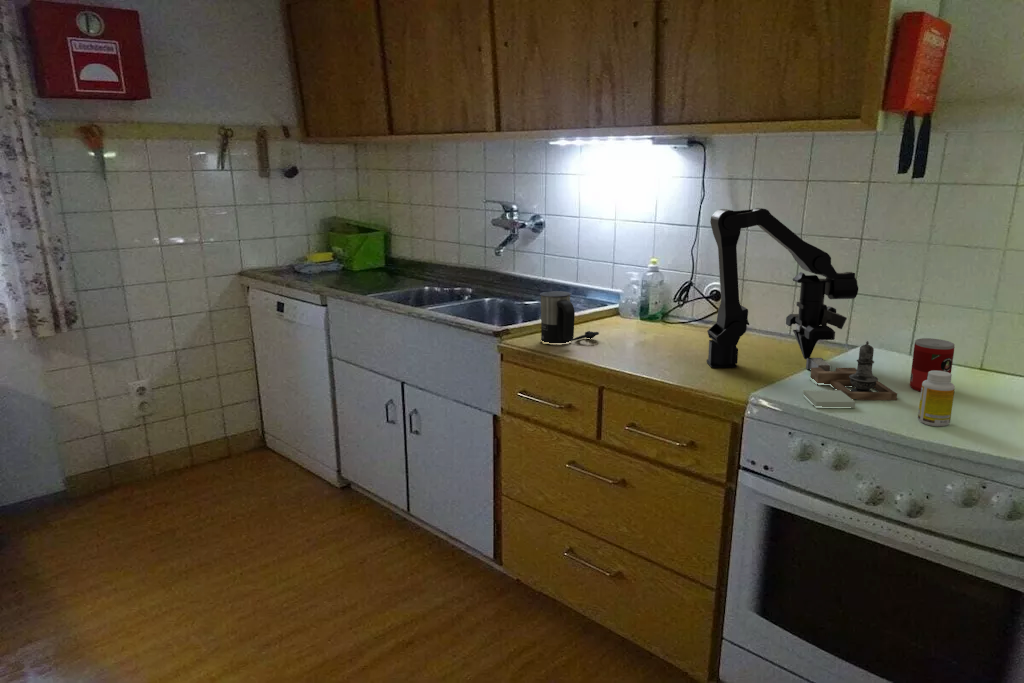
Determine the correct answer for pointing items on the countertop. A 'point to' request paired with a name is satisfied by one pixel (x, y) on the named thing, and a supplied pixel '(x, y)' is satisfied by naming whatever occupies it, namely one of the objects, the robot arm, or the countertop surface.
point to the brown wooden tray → (842, 379)
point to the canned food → (930, 359)
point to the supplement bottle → (936, 399)
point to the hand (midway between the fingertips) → (806, 359)
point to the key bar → (817, 364)
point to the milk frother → (558, 318)
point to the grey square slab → (829, 398)
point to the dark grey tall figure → (864, 371)
